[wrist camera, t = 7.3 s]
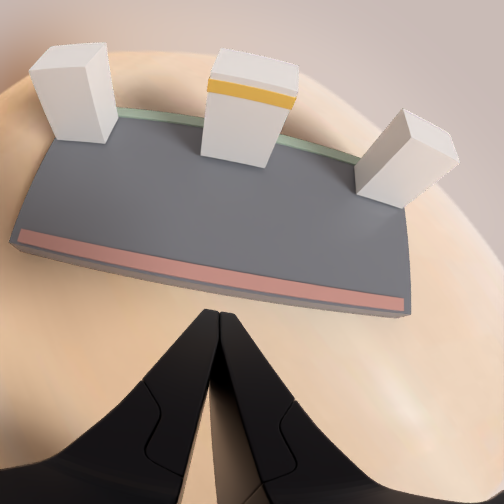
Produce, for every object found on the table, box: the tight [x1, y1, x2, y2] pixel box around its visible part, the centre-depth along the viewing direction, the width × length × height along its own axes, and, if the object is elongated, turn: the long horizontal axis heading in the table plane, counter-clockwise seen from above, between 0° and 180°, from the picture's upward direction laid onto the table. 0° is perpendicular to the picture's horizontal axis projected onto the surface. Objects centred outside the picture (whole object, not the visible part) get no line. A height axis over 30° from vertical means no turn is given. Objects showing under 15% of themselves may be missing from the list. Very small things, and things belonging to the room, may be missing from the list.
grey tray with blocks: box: [9, 42, 460, 318], centre depth 18 cm, size 14×32×10 cm, turn 83°
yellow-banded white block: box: [201, 48, 299, 168], centre depth 19 cm, size 3×5×8 cm, turn 83°
